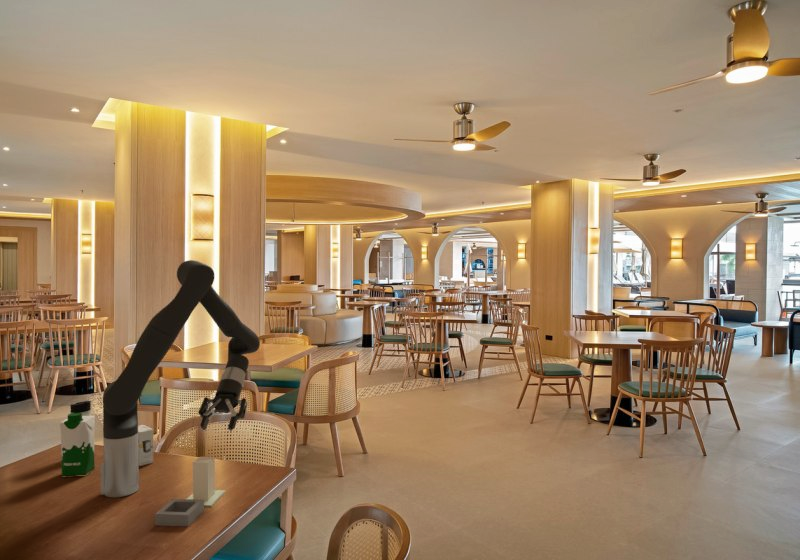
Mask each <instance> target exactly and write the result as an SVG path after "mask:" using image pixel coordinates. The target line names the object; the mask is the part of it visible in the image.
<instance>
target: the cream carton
mask: <svg viewBox="0 0 800 560" xmlns="http://www.w3.org/2000/svg"><path fill="white" fill-rule="evenodd" d="M215 460H216V457H215V456H199V457H197V458H196V459H195V460H194V461H192V493H193V500H209V499H210V498H211V497H212V496H213V495H214V494H215V490H216V476H215V475H216V467H215V465H216V464H215V463H216V461H215Z"/></svg>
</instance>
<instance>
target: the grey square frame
mask: <svg viewBox="0 0 800 560" xmlns="http://www.w3.org/2000/svg"><path fill="white" fill-rule="evenodd" d="M204 511H205V506H204V500H192V499H187V498H185V499H184V498H172V499H170V501H169V502H167V503H166V504H165V505H163V506H162V508H160V509H159V510H158V511H157V512H156V513H155V514H154V526H165V527H166V526H167V527H190V525H191V524H193V523H194V521H196V519H197V518H199V516H200V515H201V514H203V512H204Z"/></svg>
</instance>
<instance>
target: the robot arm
mask: <svg viewBox="0 0 800 560" xmlns="http://www.w3.org/2000/svg"><path fill="white" fill-rule="evenodd" d="M176 278H177V280H178V282H179V284H180V286H181V287H180V288H179V290H178V292H177V293H176V295H175V296H174V297H173V299H172V300H171V301H170V302H169V303H168V304H167V305H165V306H164V307H163V308H162V309H160V310H159V311H158V312H157V313H156V314H155V315H154V316H153V317H151V319H150V320H149V322H148V324H147V325H146V327H145V328H144V330H143V332H142V333H141V335H140V336H139V338H138V340H137V342H136V344H135V346H134V349H133V351H132V353H131V356H130V358H129V360H128V362H127V363H126V366H125V368H124V369H123V370H122V372H121V373H120V374H119V376H118V377H117V379H115V381H112V382H111V383H109V384H108V385H107V386H106V387H105V388H104V390H103V394H102V412H103V417H102V420H103V421H102V428H103V429H102V433H103V436H102V439H103V441H102V442H103V461H101V462H100V495H101V496H105V497H106V498H121V497H126V496H129V495H132V494H134V493H136V492H137V491H138V490H139V478H140V477H139V466H138V426H139V420H138V419H139V417H138V401H139V399H140V397H141V395H142V392H143V390H144V389H145V386H146V384H147V383H148V381H149V379H150V377H151V376H152V374H153V373H154V371H155V370H156V368H158V366H159V365H160V363H161V362H162V360H164V357H165V356H166V355H167V353H168V352H169V350H170V349H171V347H172V346H173V344H174V343H175V341H176V339H177V338H178V336H179V334H180V333H181V331H182V329H183V327H184V326H185V324H186V323H187V322H188V320H189V318H190V316H191V314H192V313H193V311H194V310H195V308H196V307H197V306H198V305H199V304H201V306H202V307H203V308H204V309H205V311H206V312H207V313H208V314H209V316H210V317H211V319H212V320H213V322H214V323H215V324H216V326H217V327H218V329H219V330H220V331H221V332H222V333H223V335H224V336H225V337H227V338H230V340H229V341H228V343H227V344H228V345H227V362H226V365H225V368H224V370H223V373H222V374H221V377H220V380H219V383H218V385H217V389H216V392H215V395H214V398H208V397H207V396H206V397H204V399H203V400H202V402H201V405H200V408H199V410H198V412H197V413H198V414H199V416H200V418H202V419H201V422H200V427H201V430H202V431H206V430H207V428H208V424H209V421H210V419H211V418H212V417H213V416H215V415H217V414H223V413H224V414H229V413H231V415H232V416H231V417H230V420H229V424H228V427H227V429H228V430H229V432H230V431H233V430H234V429H235V428H236V426H237V422H238V420H239V419H245V415H246V412H247V408H248V401H247V399H246V398H245V397H243V398H241V399H240V396H241V394H242V390H243V387H244V385H245V380H246V375H247V371H248V368H249V364H250V362H249V359H248V358H247V356H245V355H247V354H252V353H253V354H254V353H256V352H257V351H258V350H259V349H260V339H259V337H258V335H257V333H256V332H254V330H252V329H251V328H250V327H248V326H247V325H246V324H245V323H243V322H242V321H241V319H240V318H239V316H238V315H237V314H236V312H235V311H234V310H233V308H232V307H231V306H230V305H229V304H228V302H226V301H225V300H224V299H223V298H222V297H221V296H220V295H219V293H217V291H216V290H215V289H214V287H213V283H214V281H215V271H214V270H213V268H212V267H211V266H210V265H208V264H206V263H203V262H200V261H198V260H193V259H190V260H186V261H183V262H182V263H180V264H179V266H178V268H177V270H176ZM237 406H240V407H239V410H238V412H237V411H235V408H236V407H237Z"/></svg>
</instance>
